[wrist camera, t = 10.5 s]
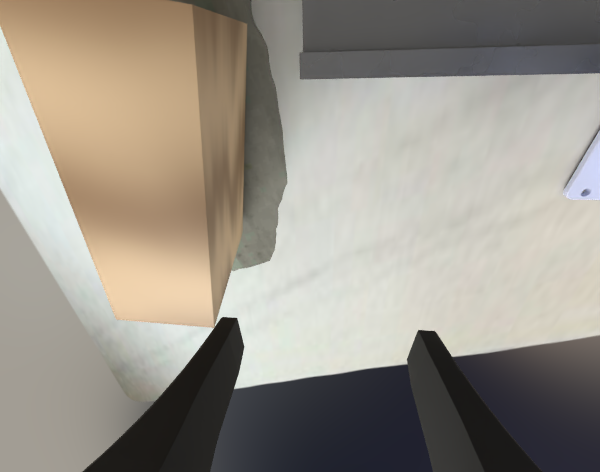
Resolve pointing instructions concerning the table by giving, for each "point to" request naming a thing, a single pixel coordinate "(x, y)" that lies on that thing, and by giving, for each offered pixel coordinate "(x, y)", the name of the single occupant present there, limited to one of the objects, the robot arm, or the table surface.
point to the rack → (449, 38)
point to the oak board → (143, 141)
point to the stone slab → (257, 142)
